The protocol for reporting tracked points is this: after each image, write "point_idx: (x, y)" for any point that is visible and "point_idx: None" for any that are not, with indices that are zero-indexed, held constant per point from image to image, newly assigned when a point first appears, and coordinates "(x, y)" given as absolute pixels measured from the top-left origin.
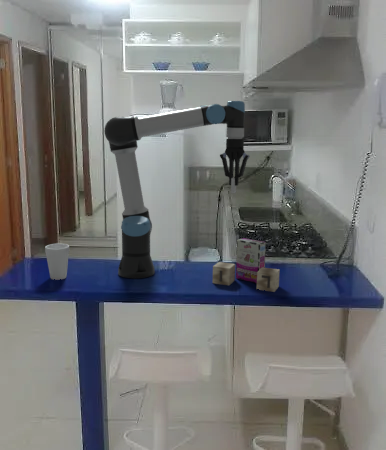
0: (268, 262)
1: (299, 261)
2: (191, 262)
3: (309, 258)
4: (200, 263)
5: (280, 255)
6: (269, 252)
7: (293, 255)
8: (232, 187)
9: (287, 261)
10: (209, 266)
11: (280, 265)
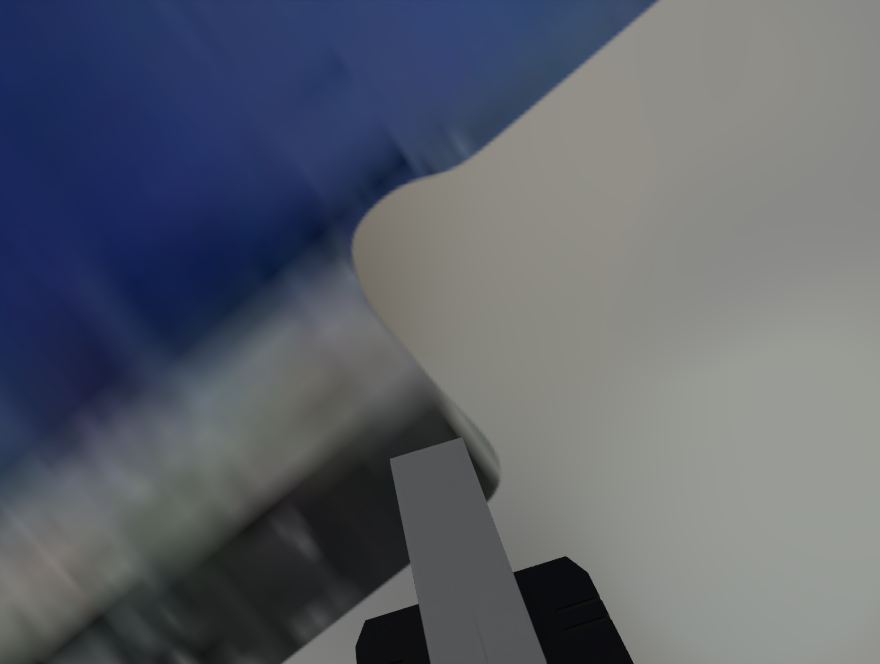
0: (165, 397)
1: (17, 555)
2: (624, 7)
3: (16, 652)
4: (552, 31)
5: (211, 586)
6: (313, 594)
7: (144, 639)
8: (452, 522)
9: (79, 503)
10: (448, 5)
11: (49, 391)
